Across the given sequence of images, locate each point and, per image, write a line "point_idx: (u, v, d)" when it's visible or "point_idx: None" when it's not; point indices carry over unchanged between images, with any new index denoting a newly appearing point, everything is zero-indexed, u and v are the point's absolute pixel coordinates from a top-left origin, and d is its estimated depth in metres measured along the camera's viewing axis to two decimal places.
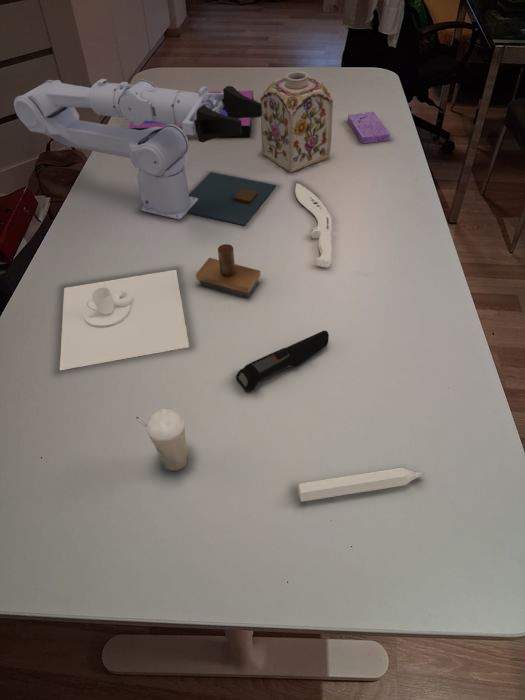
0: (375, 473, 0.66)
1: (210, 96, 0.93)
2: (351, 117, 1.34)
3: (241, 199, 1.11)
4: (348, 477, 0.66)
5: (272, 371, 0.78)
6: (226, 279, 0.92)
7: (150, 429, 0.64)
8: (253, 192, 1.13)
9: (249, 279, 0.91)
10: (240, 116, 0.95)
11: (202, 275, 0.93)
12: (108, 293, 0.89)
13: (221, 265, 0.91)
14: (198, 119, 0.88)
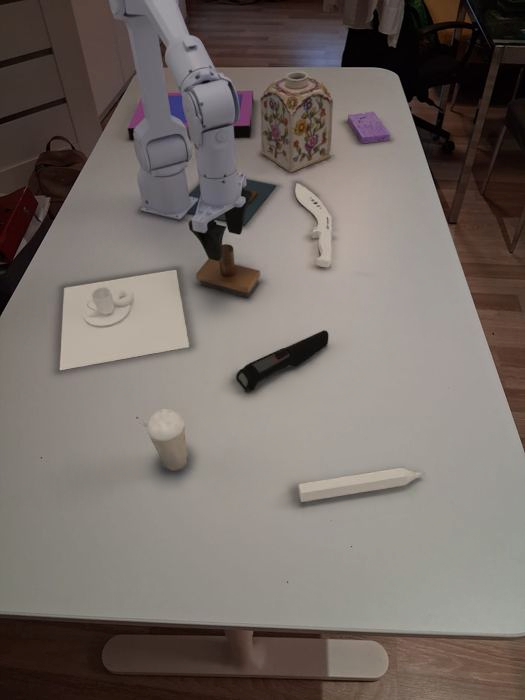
0: (375, 473, 0.66)
1: None
2: (351, 117, 1.34)
3: None
4: (348, 477, 0.66)
5: (272, 371, 0.78)
6: (226, 279, 0.92)
7: (150, 429, 0.64)
8: (253, 192, 1.13)
9: (249, 279, 0.91)
10: None
11: (202, 275, 0.93)
12: (108, 293, 0.89)
13: (221, 265, 0.91)
14: (211, 233, 0.80)
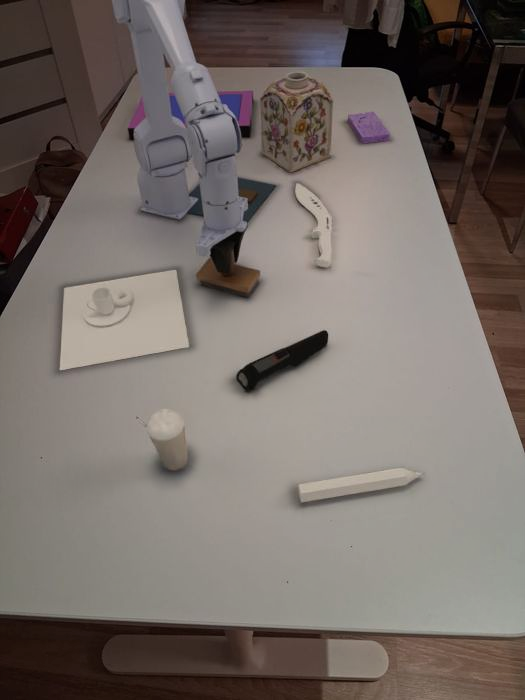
0: (375, 473, 0.66)
1: None
2: (351, 117, 1.34)
3: None
4: (348, 477, 0.66)
5: (272, 371, 0.78)
6: (226, 279, 0.92)
7: (150, 429, 0.64)
8: (253, 192, 1.13)
9: (249, 279, 0.91)
10: None
11: (202, 275, 0.93)
12: (108, 293, 0.89)
13: None
14: (220, 249, 0.84)
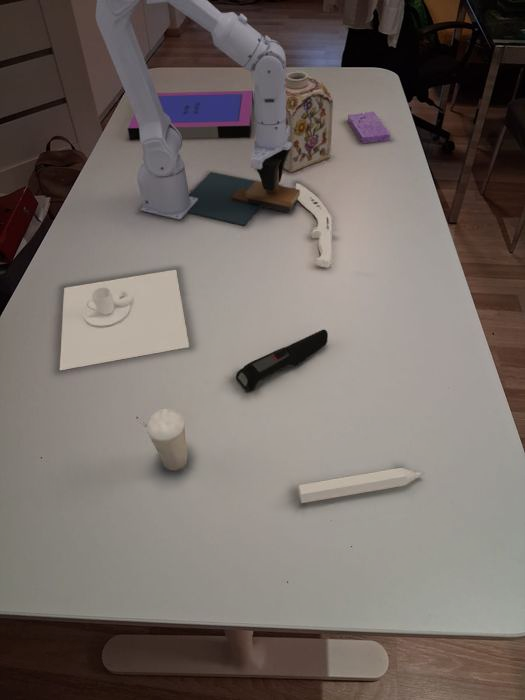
0: (375, 473, 0.66)
1: None
2: (351, 117, 1.34)
3: (239, 199, 1.12)
4: (348, 478, 0.66)
5: (272, 371, 0.78)
6: (271, 196, 1.08)
7: (150, 429, 0.64)
8: None
9: (291, 196, 1.08)
10: None
11: (250, 193, 1.09)
12: (108, 293, 0.89)
13: None
14: (269, 164, 1.01)
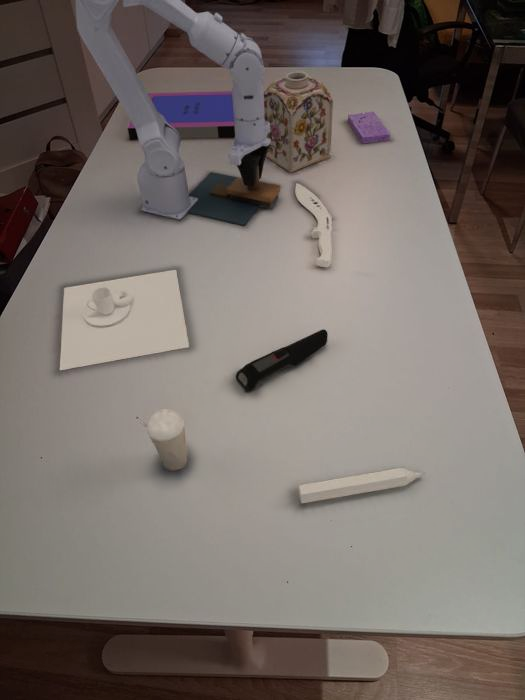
0: (375, 474, 0.66)
1: None
2: (351, 117, 1.34)
3: (218, 194, 1.13)
4: (348, 478, 0.66)
5: (272, 370, 0.78)
6: (252, 192, 1.09)
7: (150, 429, 0.64)
8: None
9: (271, 191, 1.09)
10: None
11: (232, 189, 1.10)
12: (108, 293, 0.89)
13: None
14: (249, 161, 1.02)
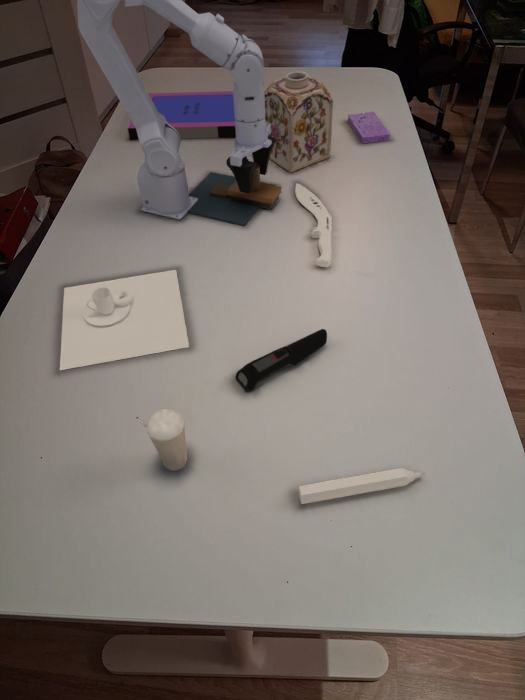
0: (375, 474, 0.66)
1: None
2: (351, 117, 1.34)
3: (218, 194, 1.13)
4: (348, 478, 0.66)
5: (271, 370, 0.78)
6: (253, 193, 1.09)
7: (150, 429, 0.64)
8: None
9: (272, 193, 1.09)
10: (253, 154, 1.09)
11: (232, 190, 1.10)
12: (108, 293, 0.89)
13: None
14: (244, 167, 1.01)
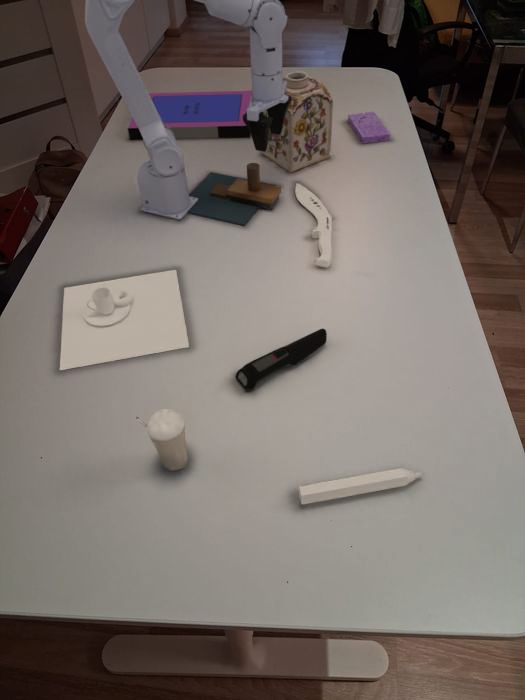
0: (375, 474, 0.66)
1: None
2: (351, 117, 1.34)
3: (218, 194, 1.13)
4: (348, 479, 0.66)
5: (271, 370, 0.78)
6: (253, 193, 1.09)
7: (150, 429, 0.64)
8: None
9: (272, 193, 1.09)
10: (268, 113, 1.08)
11: (232, 190, 1.10)
12: (108, 293, 0.89)
13: (249, 180, 1.08)
14: (261, 123, 1.00)
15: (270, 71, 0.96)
